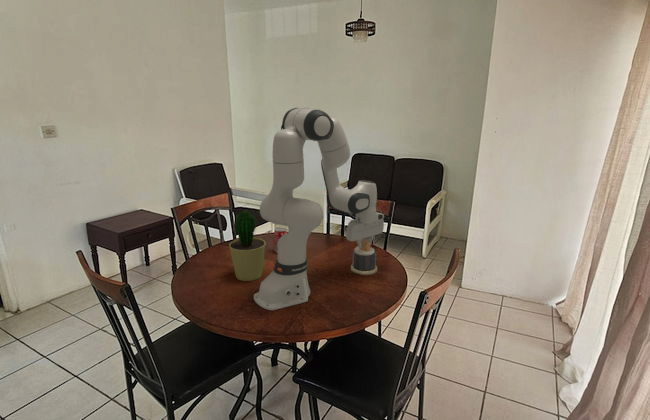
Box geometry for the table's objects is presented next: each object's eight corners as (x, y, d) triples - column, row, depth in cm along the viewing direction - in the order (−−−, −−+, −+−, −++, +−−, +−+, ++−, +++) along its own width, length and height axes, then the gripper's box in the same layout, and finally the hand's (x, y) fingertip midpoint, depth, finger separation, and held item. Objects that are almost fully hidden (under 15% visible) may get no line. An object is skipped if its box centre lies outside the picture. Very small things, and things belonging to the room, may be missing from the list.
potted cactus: (259, 284, 153) (256, 215, 145) (224, 281, 156) (220, 213, 148) (271, 269, 167) (269, 206, 159) (240, 266, 170) (236, 204, 162)
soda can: (289, 249, 192) (288, 227, 188) (286, 254, 185) (285, 231, 182) (275, 248, 192) (275, 226, 189) (272, 253, 185) (271, 231, 182)
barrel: (363, 277, 160) (364, 259, 158) (345, 268, 169) (345, 251, 167) (382, 270, 167) (383, 253, 165) (363, 262, 176) (364, 245, 174)
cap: (364, 263, 160) (364, 246, 158) (350, 257, 167) (350, 240, 165) (378, 258, 166) (379, 241, 164) (364, 252, 173) (364, 236, 170)
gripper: (353, 222, 153) (352, 253, 156) (386, 214, 165) (385, 243, 169) (343, 219, 157) (342, 249, 161) (376, 211, 170) (375, 239, 173)
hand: (364, 246), depth 165 cm, fingers open, 4 cm apart
